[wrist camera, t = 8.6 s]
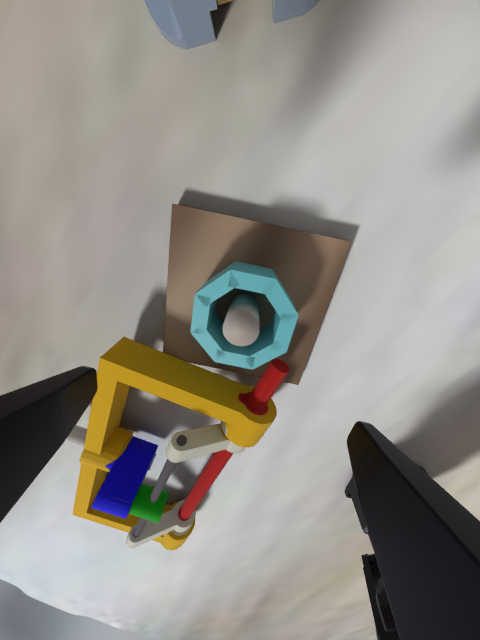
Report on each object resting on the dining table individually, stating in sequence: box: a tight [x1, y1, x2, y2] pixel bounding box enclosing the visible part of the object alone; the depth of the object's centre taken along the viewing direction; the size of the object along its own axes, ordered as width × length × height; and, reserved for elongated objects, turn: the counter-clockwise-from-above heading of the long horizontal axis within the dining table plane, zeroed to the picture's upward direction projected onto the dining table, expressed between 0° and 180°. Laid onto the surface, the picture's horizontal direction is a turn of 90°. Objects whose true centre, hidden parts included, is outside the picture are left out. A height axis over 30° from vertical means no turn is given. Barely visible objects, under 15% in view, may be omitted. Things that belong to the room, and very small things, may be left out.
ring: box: [191, 261, 298, 369], centre depth 16 cm, size 6×6×3 cm
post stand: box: [163, 204, 352, 385], centre depth 16 cm, size 12×12×5 cm
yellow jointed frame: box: [65, 337, 289, 550], centre depth 21 cm, size 18×6×30 cm
